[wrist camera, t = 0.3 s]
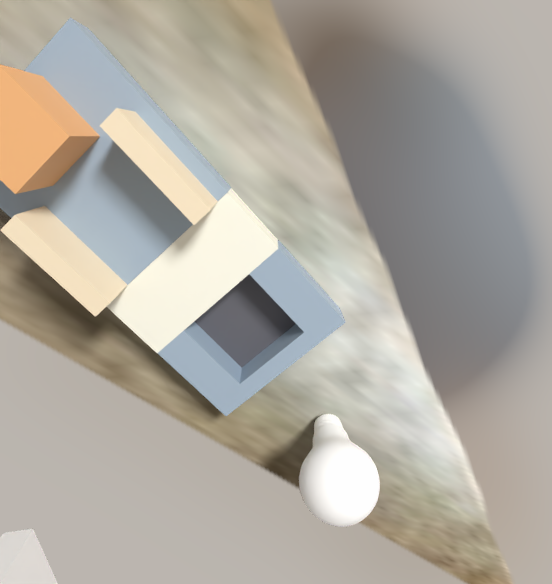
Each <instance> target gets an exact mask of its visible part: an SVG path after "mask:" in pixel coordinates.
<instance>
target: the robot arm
mask: <svg viewBox="0 0 552 584" xmlns="http://www.w3.org/2000/svg"><path fill="white" fill-rule="evenodd" d="M0 584H58V583H57V580H56V578H55V576H54V574H53V572H52V569H51V567H50V565H49V563H48V561H47V558H46V556H45V554H44V552H43V550H42V547H41V545H40V543H39V541H38V539H37V537H36V534H35V532H34V530H33V529H27V530H20V531H14V532H7V533H3V535H2V536H1V538H0Z"/></svg>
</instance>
